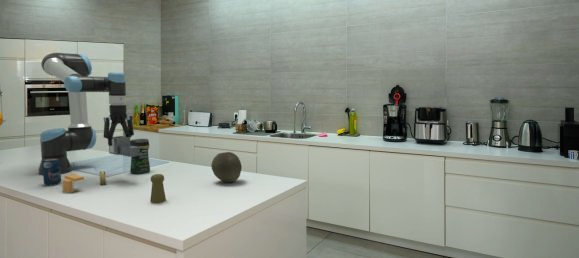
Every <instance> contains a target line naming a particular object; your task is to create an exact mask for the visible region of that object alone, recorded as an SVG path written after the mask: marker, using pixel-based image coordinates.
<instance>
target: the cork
mask: <svg viewBox="0 0 579 258" xmlns="http://www.w3.org/2000/svg"><path fill="white" fill-rule="evenodd" d="M164 181H165V175H163V174H162V173H156V174H152V175H151V176H150V182H151V192H150V204H151V203H152V204H161V202H162V203H165V202H166V201H167V198H166V192H165V187H164ZM164 201H165V202H164Z"/></svg>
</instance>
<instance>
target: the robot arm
mask: <svg viewBox="0 0 579 258" xmlns="http://www.w3.org/2000/svg"><path fill="white" fill-rule="evenodd" d="M40 65H41V68H42V70H43V71H44V72H45V73H46V74H47V75H49V76H53V77H55V78H57V79H59V81H61V82H63V84H64V88H65V89H66V91H67V93H68V105H69V117H70V125H69V126H67V130H66V129H65V127H64V128H63V127H61V128H51V129H47V130H44V131H42V132H41V133H40V136H39V137H40V138H39V139H40V140H39V142H40V153H41V154H40V155H41V161H40V163H39V166H38V175H41V176H43V162H44V160H45V159H52V158H57V159H58V160H59V162H60V171H61V175H62V174H66V173H70V172H72V171H73V170H72V169H73V168H72V165H71V163H70V160H69V158H68V152H74V151H85V150H89V149H93V148H94V146H95V145H96V142H97V132H96V130H95V129H94V128H93V127H92V124H90V123H89V117H88V103H87V93H108V104H109V109H108V110H109V116H105V117H103V122H104V126H103V136H102V137H103V139H107V145H108V147H109V146H110V152H112V153H114V152H115V150H114V139H112V138H113V137H114V134H115V131H116V127H118V125H119V124H120V125H121V127H122V130H123V132H124V136H127V137H130V138H132V137H133V136H135V131H134V126H133V116H132V115H128V114H127V111H128V110H127V105H126V104H127V92H126V91H127V89H126V88H127V87H126V82H127V81H126V75H125V73H123V72H116V71H115V72H108V74H107V76H90V75H91V74H92V71H93V68H92V63H91V60H90V58H89V57H88V56H87V55H84V54H79V53H67V52H66V53H64V52H52V53H49V54H46V55H45V56H44V57H43V58H42V60H41V63H40ZM110 121H111V123H110Z"/></svg>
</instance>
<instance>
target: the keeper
mask: <svg viewBox="0 0 579 258" xmlns="http://www.w3.org/2000/svg"><path fill="white" fill-rule="evenodd" d="M83 180H85V177H84V176H83V175H80V174H79V175H78V174H76V173H73V174H67V175H64V179H61V182H62V192H64V193H67V194H70V193H74V185H73V184H74V182H77V181H78V182H79V181H83Z"/></svg>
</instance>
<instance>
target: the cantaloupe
mask: <svg viewBox="0 0 579 258" xmlns="http://www.w3.org/2000/svg"><path fill="white" fill-rule="evenodd" d="M210 165H211V171H212V173H213V174H214V176H215V177H216V178H217V179H218V180H220V181H221V182H224V183H233V182H235V181H238V179H239V178H240V176H241V172H242V167H243V166H242V163H241V160H240V158H239V156H238V155H236V154H235V153H234V152H231V151H226V152H219V153H217V154H216V155H215V156H214V157H213V159H212V161H211V164H210Z"/></svg>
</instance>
